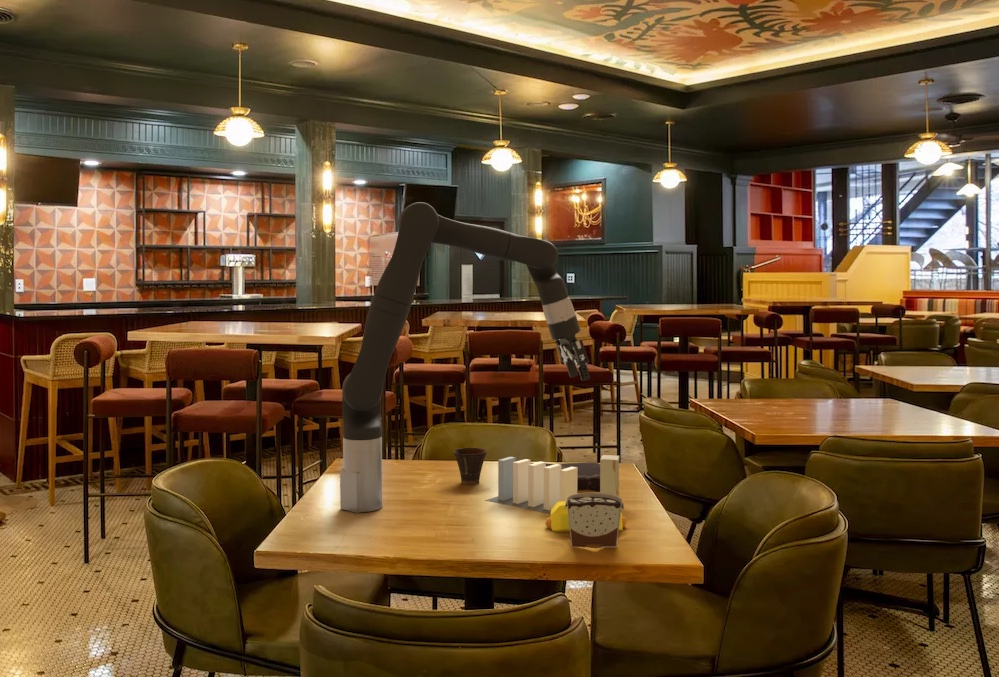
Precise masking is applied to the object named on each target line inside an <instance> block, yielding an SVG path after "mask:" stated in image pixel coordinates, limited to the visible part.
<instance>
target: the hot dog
mask: <svg viewBox="0 0 999 677" xmlns="http://www.w3.org/2000/svg"><path fill="white" fill-rule="evenodd" d="M565 503H566V501H559V502H557V503H556V504H555V505H554V506H553V508H552V509H551V514H549V515H550V516H549V517H547V518H546V521H545V526H546V527H547V528H546V529H548V530H549V529H550V530H551V531H552V532H557V533H566V532H567V533H570V528H569V518H568V508H567V507H566V509H565V510H564V508H565ZM626 525H627V520H626V518H625V517H624V516H623V514H622V512H621V515H620V524H619V532H621V531H623V530H624V529H623V528H626Z"/></svg>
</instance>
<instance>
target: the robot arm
mask: <svg viewBox="0 0 999 677" xmlns="http://www.w3.org/2000/svg"><path fill="white" fill-rule="evenodd" d="M397 228H398V233H397V238H396V242H395V245H394V249H393V252H392V254H391V257H390V259H389V261H388V263H387V265H386V267H385V268H384V271H383V273H382V274H381V277H380V279H379V280H378V283H377V286H376V288H375V290H374V294H373V296H372V298H371V302H370V305H369V308H368V312H367V315H366V320H365V324H364V329H363V334H362V335H363V336H362V342H361V346H360V350H359V353H358V354H357V358H356V360H355V363H354V364H353V368H352V369H351V372H350V373H349V374H347V375H346V376H345V377H344V380H343V383H342V386H341V388H342V389H341V391H342V392H341V396H342V397H341V398H342V403H341V404H342V444H343V445H342V446H343V447H342V453H343V454H342V456H343V457H342V462H343V463H342V466H343V469H340V470H339V482H340V483H339V485H340V486H339V487H340V488H339V490H340V491H339V492H340V493H339V496H340V498H339V499H340V502H339V503H340V506H339V507H340V510H344V511H348V512H352V513H355V514H359V513H366V512H373V511H379V510H380V509H382V508H383V427H382V426H383V424H382V396H383V390H384V384H385V380H386V376H387V373H388V372H387V371H388V368H389V364H390V361H391V359H392V358H391V357H392V355H393V353H394V350H395V349H396V346H397V344H398V341H399V339H400V337H401V334H402V333H403V330H404V327H405V325H406V322H407V319H408V316H409V313H410V310H411V307H412V304H413V301H414V298H415V294H416V291H417V286H418V282H419V278H420V274H421V269H422V266H423V262H424V261H425V258H426V255H427V253H428V250H429V248H430V247H431V244H439V245H444V246H452V247H454V248H458V249H463V250H467V251H469V252H472V253H475V254H479V255H483V256H485V257H488V258H493V259H497V260H501V261H504V262H505V261H506V262H516V263H519V264H523V265H525V266H526V268H527V270H528V273H529V275H530V276H531V279H532V281H533V283H534V284H535V286H536V290H537V293H538V296H539V300H540V303H541V306H542V312H543V315H544V318H545V320H546V321H545V322H546V323H547V324H546V326H547V327H548V332H549V334H550V337H551V340H553V341H555V345H556V347H557V351H558V354H559V357H560V361H561V362H563V364H564V365H566V370H567V372H568V375H569V378H571V379H573V378H576V377H578V376H580V380H581V381H582V382H586V381H589V380H590V379H591V375H590V372H589V369H588V363H589V362H590V360H589V357H588V354H587V351H586V348H585V345H584V342H583V339H579V340H578V339H577V337H576V335H577V334H579V333H580V332H581V326H580V324H579V321H578V318H577V314H576V312H575V308H574V306H573V303H572V300H571V299H570V296H569V293H568V292H569V291H568V289H567V286H566V283H565V281H564V279H563V278H562V277H561V276H560V275H559V273H558V271H557V268H556V266H555V265H556V263H557V262H558V260H559V251H558V249H557V247H556V246H555V245H554V244H553V243H552V242H551V241H548V240H545V239H541V238H535V237H529V236H524V235H520V234H516V233H513V232H510V231H507V230H506V231H505V230H503V229H498V228H495V227H491V226H490V227H489V226H485V225H480V224H473V223H472V224H471V223H466V222H461V221H457V220H454V219H450V218H447V217H444V216H442V215H440V214H438V213H437V211H436V209H435V208H434V207H433V206H432V205H430V204H429V203H427V202H421V201H420V202H419V201H418V202H414V203H411V204H409V205H407V206H406V207H405V208H404V209H403V210H402V211H401V212H400V213H399V215H398V218H397ZM589 364H590V363H589Z"/></svg>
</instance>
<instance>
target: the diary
mask: <svg viewBox="0 0 999 677" xmlns="http://www.w3.org/2000/svg"><path fill="white" fill-rule="evenodd" d="M533 463H534V462H531V464H533ZM554 464H555V463H547V462H546V467H547V466H551V465H554ZM558 464H559V465H561V470H562V469H566V468H569V467H578V470H577V492H579V491H591V492H595V493H600V463H598V462H597V461H592V462H591V461H590V462H588V461H587V462H566V463H558Z"/></svg>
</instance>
